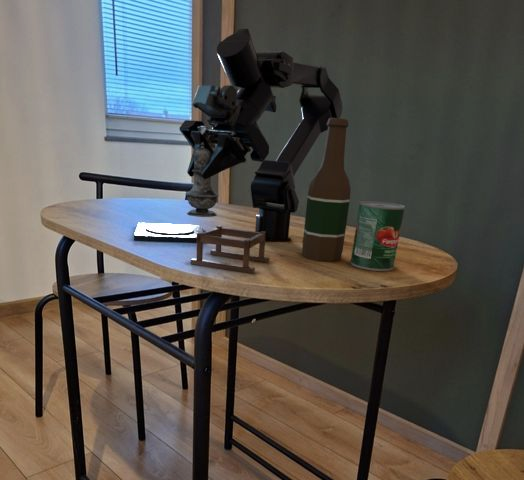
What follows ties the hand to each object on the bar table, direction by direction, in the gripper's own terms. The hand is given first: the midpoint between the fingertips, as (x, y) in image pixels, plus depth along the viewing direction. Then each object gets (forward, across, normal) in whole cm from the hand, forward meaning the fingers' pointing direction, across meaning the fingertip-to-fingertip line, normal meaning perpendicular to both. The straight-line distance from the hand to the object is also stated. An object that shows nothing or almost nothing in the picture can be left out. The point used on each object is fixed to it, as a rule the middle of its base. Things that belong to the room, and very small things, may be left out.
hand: (195, 175), depth 81 cm
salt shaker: (+4, 0, +6) cm, 7 cm away
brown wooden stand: (+9, +10, +10) cm, 16 cm away
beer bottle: (-4, +14, +23) cm, 28 cm away
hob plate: (+6, -15, +13) cm, 21 cm away
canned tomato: (-6, +24, +25) cm, 35 cm away
